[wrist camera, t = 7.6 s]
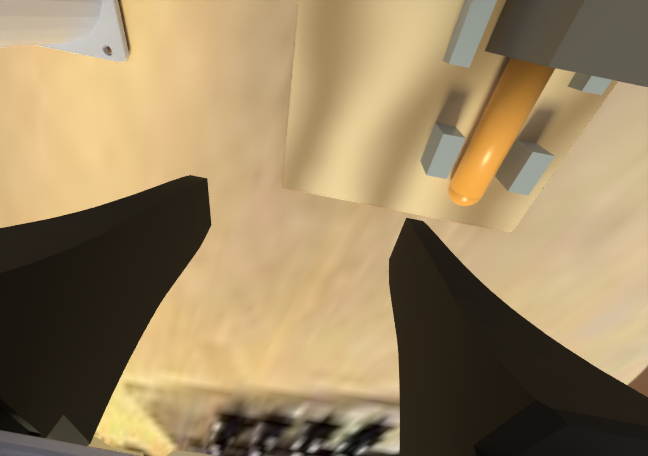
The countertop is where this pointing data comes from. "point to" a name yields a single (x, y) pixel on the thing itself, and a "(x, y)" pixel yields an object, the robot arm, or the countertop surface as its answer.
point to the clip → (513, 174)
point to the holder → (471, 32)
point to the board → (407, 108)
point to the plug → (548, 70)
